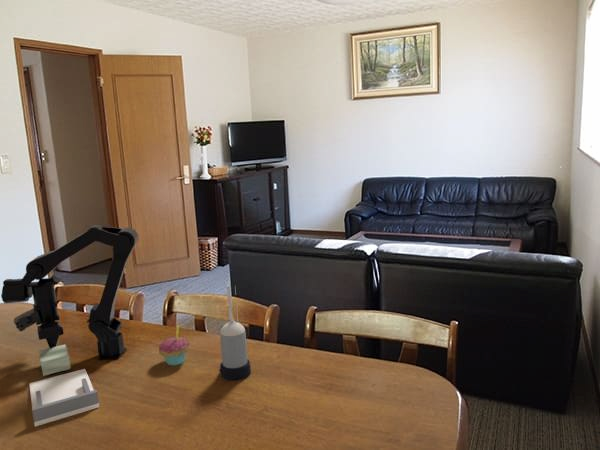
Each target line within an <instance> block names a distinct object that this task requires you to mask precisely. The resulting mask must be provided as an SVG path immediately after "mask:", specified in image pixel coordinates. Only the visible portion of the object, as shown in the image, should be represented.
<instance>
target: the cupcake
mask: <svg viewBox="0 0 600 450" xmlns="http://www.w3.org/2000/svg"><path fill="white" fill-rule="evenodd" d="M179 323H180V322H177V324H176V330H175V332H176V333H175V336H174V337H169V338H166V339H164V340H163V341H162V342H161V343H160V344H159V346H158V354H160V355H161V356H163V358H164V359H165V361H166V364H167V365H169V366H178V365H180V364H181V365H182V364H183V363H184V361H185V358H186V354H187V352H188V351H189V349H190V342H189V341H188V340H187V339H185V338H183V337H182V336H179V331H180V330H179V329H180V325H179Z"/></svg>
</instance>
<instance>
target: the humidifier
mask: <svg viewBox="0 0 600 450" xmlns="http://www.w3.org/2000/svg"><path fill="white" fill-rule="evenodd" d="M226 290H227V301H228V310H227V311H228V312H227V313H228V318H229V321H228V322H227V323H225V324H224V325H223V326H222V327H221V329H220V332H219V336H220V337H219V338H220V348H221V349H220V350H221V363H220V367H219V370H218V371H219V373H220V377H221V379H222V380H225V381H228V382H236V381H241V380H244V379H247V378H249V376H250V375H251V373H252V372H251V371H252V367H251V362H250V360H249V359H248V350H247V349H248V347H247V336H246V335H247V334H246V329H245V327H244V326H243V325H242V323H240V322H239V321H238V319H239V315H238V312H236V316H237V319H236V321H235V319H234V316H233V301H232V295H231V286H230V284H227V285H226ZM234 290H235V291H234V292H235V294H237V292H236V290H237V289H236V286H234ZM235 302H236V304H237V308H236V309H239V308H238V306H239V304H238V302H237V301H235Z"/></svg>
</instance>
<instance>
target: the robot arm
mask: <svg viewBox="0 0 600 450" xmlns="http://www.w3.org/2000/svg"><path fill="white" fill-rule="evenodd" d="M138 241H139V234H138V232H137V231H136V229H134V228H132V227H124V228H119V227H113V226H104V225H103V226H102V225H99V224H96V225H93V226H91V227H90V228H89V229H88V230H86V231H85V232H83V233H81V234H79V235H78V236H76V237H75V238H73V239H71V240H70V241H69V242H67V243H65V244H63V245H62V246H60V247H59V248H56V249H54V250H52V251H48V252H45V253H43V254H40V255H38V256H37V257H35V258H33V259H32V260H30V261H29V262H28V263H27V264H26V265H25V266H26V267H25V274H24V276H23V277H22V278H15V279H14V278H13V279H12V278H6V279H5V280H3V282H2V284H3V285H2V289H1V294H0V295H1V300H2V302H3V303H4V304H15V303H27V302H29V300H30V299H31V298H33V305H32V306H33V308H32V309H29V310H26V311H25V312H23V313H21V314H19V315H17V316H15V317H14V318H13V324H14V325H15V327H16V329H18V331H19V332H23V331H25V330H26V329H27V328H29V327H31V326H33V325H34V324H36V327H37V336H38V340H46V342H47V345H48V348H52V347H56V346H57V343H58V342H59V341H58V340H59V338H60V336H63V335H64V329H63V325H62V323H61V322H60V320H61V319H60V315H59V309H58V301H57V296H56V287H55V286H57V285H58V284H60V283H61V282H62V279H61V278H60V277H57V275H55V274H53V275H51V277H48V278H47V276H48V275H49V274H50V273H52V271H54V269H56V268H57V267H58V266H59V265H61V263H62V262H64V261H66V260H67V259H68V258H70V257H72V256H74V255H75V254H77V253H79V252H80V251H81V250H83V249H85V248H87V247H88V246H89V245H92V244H93V243H94V242H98V243H101V244H103V245H106V246H110V247H112V262H111V264H110V269H109V271H108V274H107V275H108V276H107V278H106V282H105V284H104V288H103V291H102V293H101V294H102V295H101V297H100V300H99V303H98V302H95V303H94V305H93V306H92V307H91V308H90V311H89V318H88V319H87V321H86V323H87V324H88V330H89V332H90V333H92V334H93V335H94V336H95V337H96V339H97V341H96V346H97V347H96V348H97V353H98V356H97V359H98V360H109V359H110V360H118V359H120V358H121V357H122V355H123V354H124V353H126V351H127V349H128V348H127V347H125V343H124V337H123V336H124V335H123V332H120V330H121V329H122V326H123V322H122V321H120V320H119V319H117V318H116V317H115V309H116V307H115V302H116V298H117V295H118V292H119V288H120V286H121V283H122V278H123V275H124V272H125V270H126V266H127V262H128V260H129V258H130V256H131V255H132V252H133V250H134V249H135V246H136V244H137V242H138ZM35 280H36V281H35Z"/></svg>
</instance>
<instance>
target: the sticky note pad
mask: <svg viewBox="0 0 600 450" xmlns="http://www.w3.org/2000/svg"><path fill="white" fill-rule="evenodd" d="M68 351H69V350H68V348H67V345H66V344H61V345H56V347H52V348H49V347H48V348H44V349H39V350H38V353H39V354H38V355H39V359H40V360H39V361H40V366H41V367H40V368H41V371H42V376H44V377H49V376H50V375H51V374H56V373H60V372H63V371H65V372H69V371H70V369H71V362H70V360H71V359H70V354H69V352H68Z"/></svg>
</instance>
